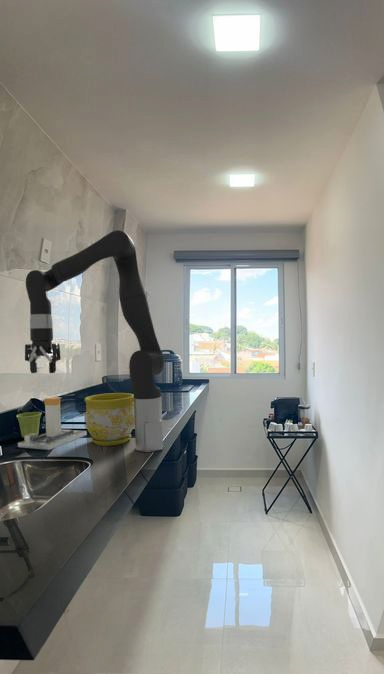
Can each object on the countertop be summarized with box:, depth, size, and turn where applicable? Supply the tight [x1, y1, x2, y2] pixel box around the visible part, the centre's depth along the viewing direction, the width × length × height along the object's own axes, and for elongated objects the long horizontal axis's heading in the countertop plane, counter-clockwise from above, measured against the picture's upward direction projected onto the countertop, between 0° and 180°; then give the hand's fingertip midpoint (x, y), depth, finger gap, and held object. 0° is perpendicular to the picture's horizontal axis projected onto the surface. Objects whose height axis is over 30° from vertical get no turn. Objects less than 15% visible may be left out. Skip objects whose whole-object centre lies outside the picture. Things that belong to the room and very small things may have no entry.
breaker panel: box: [17, 428, 88, 451], centre depth 148 cm, size 14×21×4 cm, turn 158°
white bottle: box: [44, 396, 62, 437], centre depth 148 cm, size 5×3×14 cm
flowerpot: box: [84, 392, 135, 447], centre depth 144 cm, size 18×18×16 cm
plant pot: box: [16, 411, 43, 439], centre depth 157 cm, size 9×9×9 cm
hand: (42, 372), depth 140 cm, fingers open, 8 cm apart
